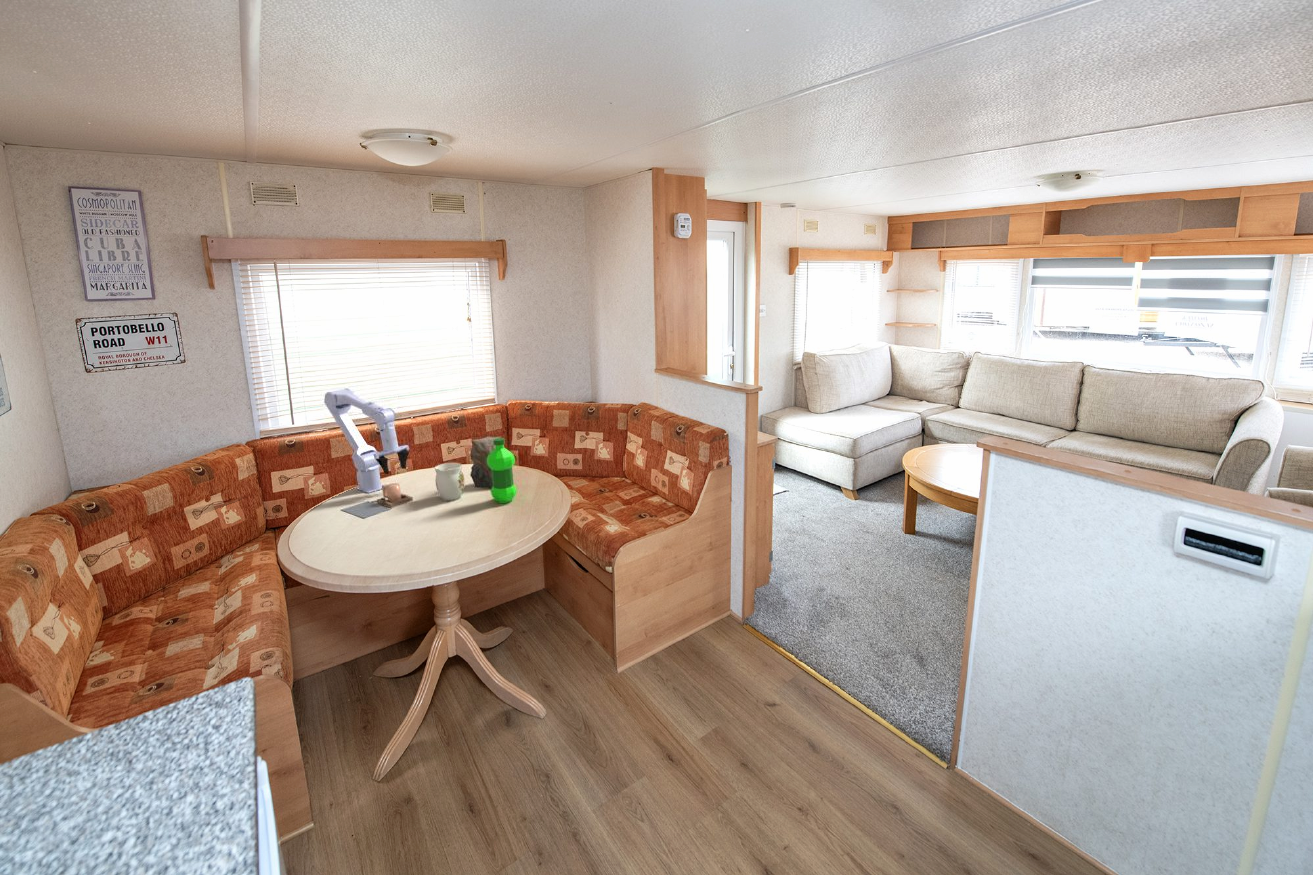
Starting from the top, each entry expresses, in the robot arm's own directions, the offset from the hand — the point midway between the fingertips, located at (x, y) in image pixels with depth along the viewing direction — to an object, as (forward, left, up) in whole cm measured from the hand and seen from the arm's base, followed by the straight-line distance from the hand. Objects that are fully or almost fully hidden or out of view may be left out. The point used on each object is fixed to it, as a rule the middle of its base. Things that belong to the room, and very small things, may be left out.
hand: (395, 471), depth 252 cm
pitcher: (+24, +9, -10) cm, 27 cm away
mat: (+7, -18, -10) cm, 21 cm away
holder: (+9, -7, -10) cm, 15 cm away
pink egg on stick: (+7, -7, -10) cm, 13 cm away
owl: (+26, +27, -10) cm, 38 cm away
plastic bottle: (+46, +17, -10) cm, 50 cm away
